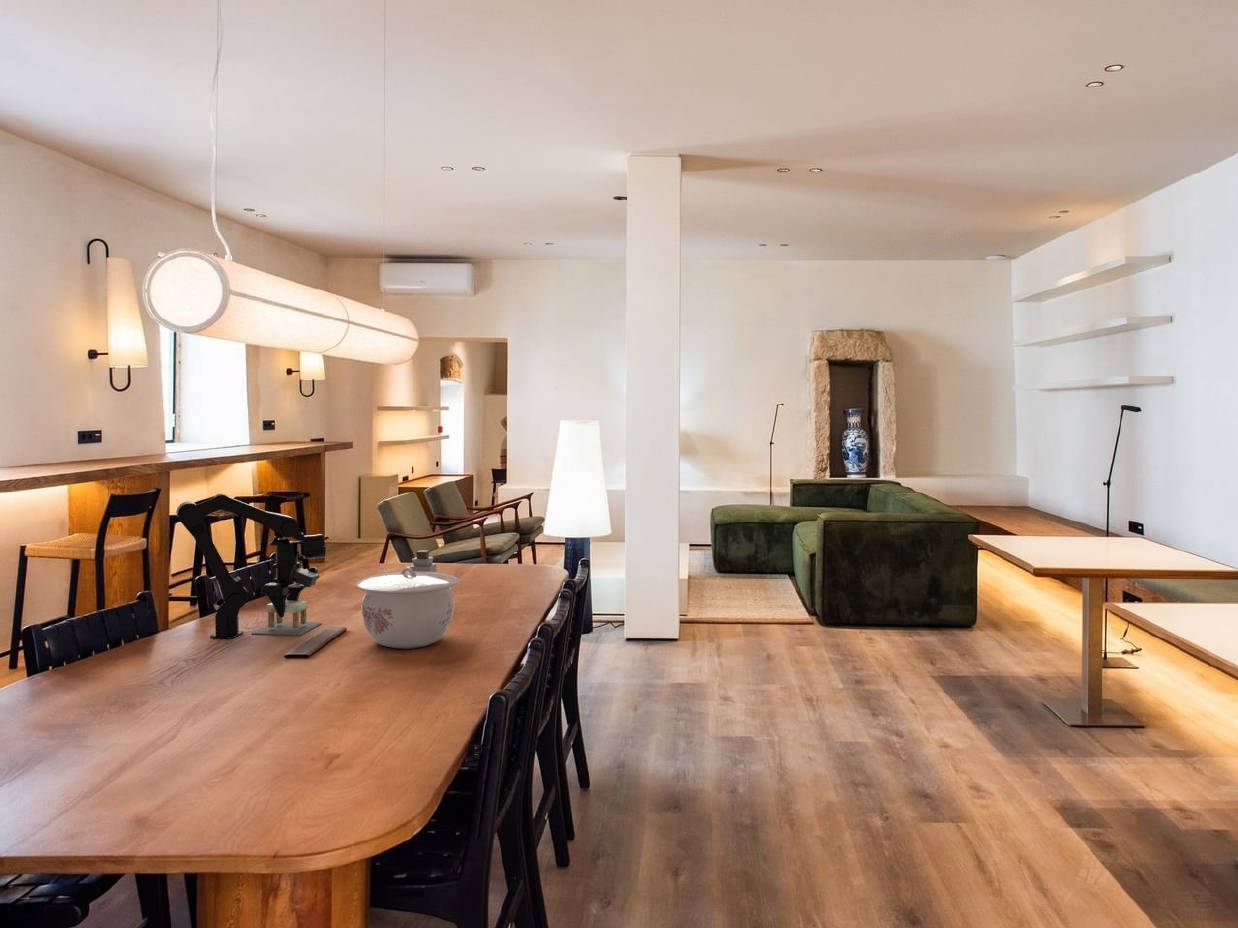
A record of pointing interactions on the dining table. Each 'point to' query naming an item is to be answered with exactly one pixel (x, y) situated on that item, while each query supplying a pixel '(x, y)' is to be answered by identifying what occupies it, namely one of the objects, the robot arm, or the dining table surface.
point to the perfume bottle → (423, 562)
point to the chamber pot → (407, 607)
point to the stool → (290, 607)
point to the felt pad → (287, 629)
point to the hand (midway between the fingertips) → (287, 614)
